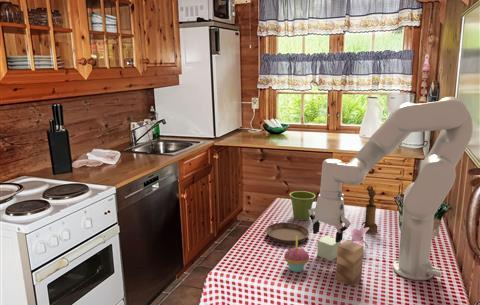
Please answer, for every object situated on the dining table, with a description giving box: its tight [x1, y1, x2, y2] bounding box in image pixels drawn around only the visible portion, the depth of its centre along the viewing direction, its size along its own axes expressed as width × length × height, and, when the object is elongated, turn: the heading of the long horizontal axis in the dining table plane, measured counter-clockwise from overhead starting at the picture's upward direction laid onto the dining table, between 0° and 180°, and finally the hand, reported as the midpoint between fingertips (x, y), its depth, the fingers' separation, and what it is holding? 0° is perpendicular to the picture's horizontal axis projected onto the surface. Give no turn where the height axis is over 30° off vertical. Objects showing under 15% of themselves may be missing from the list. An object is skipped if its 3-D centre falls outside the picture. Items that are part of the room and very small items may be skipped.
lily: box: [349, 222, 369, 249], centre depth 150 cm, size 12×12×10 cm
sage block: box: [316, 235, 342, 261], centre depth 144 cm, size 6×6×6 cm
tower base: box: [335, 262, 363, 287], centre depth 128 cm, size 6×6×6 cm
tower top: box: [336, 239, 365, 269], centre depth 127 cm, size 6×6×6 cm
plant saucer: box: [265, 222, 310, 245], centre depth 161 cm, size 18×18×3 cm
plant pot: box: [289, 190, 316, 221], centre depth 180 cm, size 12×12×11 cm
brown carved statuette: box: [361, 189, 379, 234], centre depth 165 cm, size 7×6×18 cm
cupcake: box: [283, 236, 310, 273], centre depth 134 cm, size 9×8×12 cm
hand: (326, 237), depth 144 cm, fingers open, 9 cm apart
